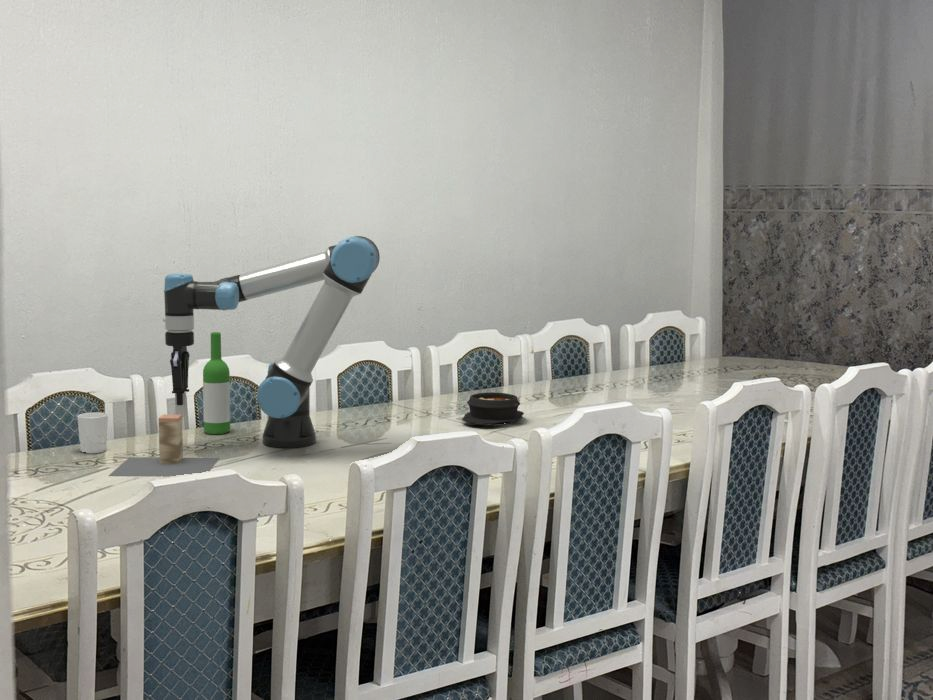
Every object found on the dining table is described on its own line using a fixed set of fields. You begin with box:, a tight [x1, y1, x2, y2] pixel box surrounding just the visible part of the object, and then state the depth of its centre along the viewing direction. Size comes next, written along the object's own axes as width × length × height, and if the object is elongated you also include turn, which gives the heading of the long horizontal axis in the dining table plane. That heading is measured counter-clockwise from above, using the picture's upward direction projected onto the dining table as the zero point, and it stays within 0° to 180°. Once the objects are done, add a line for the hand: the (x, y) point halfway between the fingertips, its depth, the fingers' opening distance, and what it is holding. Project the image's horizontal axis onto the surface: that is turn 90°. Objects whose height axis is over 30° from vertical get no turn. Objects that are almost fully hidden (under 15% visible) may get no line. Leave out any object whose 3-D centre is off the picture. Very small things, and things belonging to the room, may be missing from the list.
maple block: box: [158, 413, 184, 463], centre depth 285 cm, size 5×5×12 cm
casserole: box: [461, 391, 525, 425], centre depth 346 cm, size 25×19×8 cm
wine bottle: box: [202, 331, 231, 435], centre depth 321 cm, size 8×8×30 cm
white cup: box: [77, 412, 109, 454], centre depth 297 cm, size 8×8×10 cm
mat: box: [108, 456, 221, 478], centre depth 280 cm, size 24×20×1 cm
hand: (181, 416), depth 297 cm, fingers closed
